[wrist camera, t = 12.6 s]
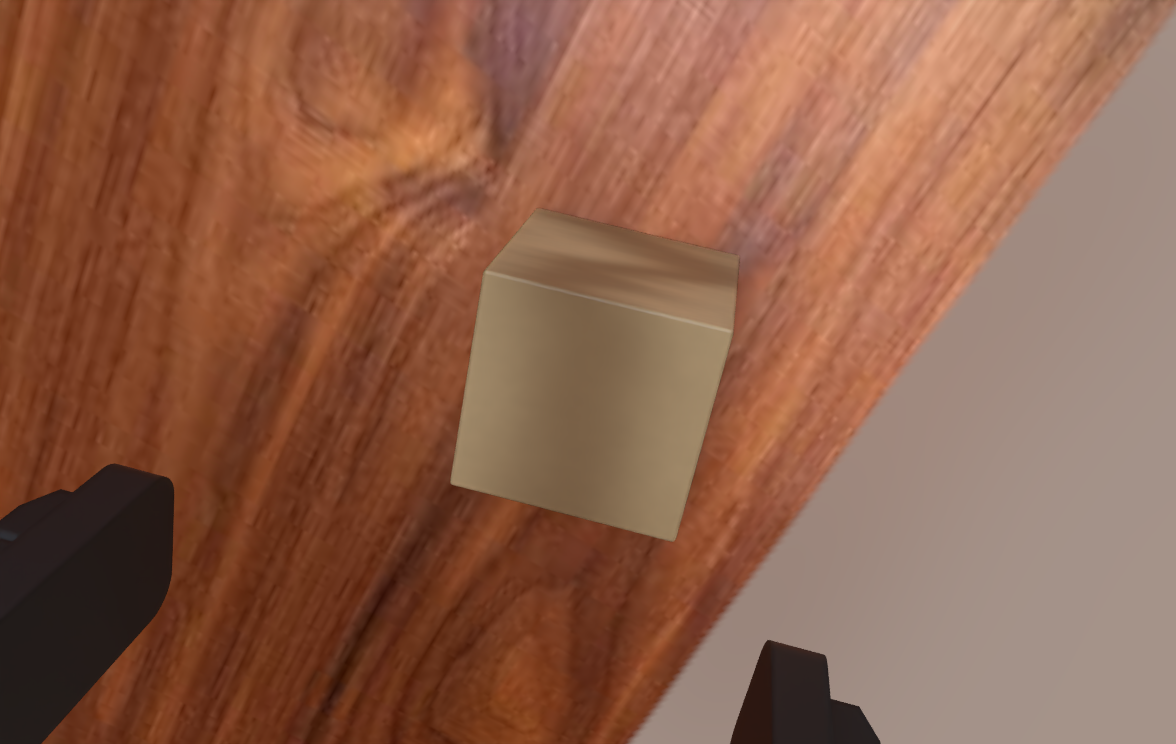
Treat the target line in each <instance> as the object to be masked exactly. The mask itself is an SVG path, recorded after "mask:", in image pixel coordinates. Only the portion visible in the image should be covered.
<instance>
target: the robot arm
mask: <svg viewBox="0 0 1176 744" xmlns="http://www.w3.org/2000/svg"><path fill="white" fill-rule="evenodd" d="M173 518H174V487H173V484H172V481H171V480H170V479H169V478H167V477H164V476H160V475H156V474H152V473H149V472H145V471H141V470H137V469H134V468H130V467H126V466H122V465H119V464H110V465H107V466H106V467H104V468H103V469H101V470H100V471H99V472H98V473H96V474H95V475H94V476H93V477H91V478H90V479H89V480H88V481H86V482H85V483H84V484H83V485H81V486H80V487H79V488H78V489H77V490H75V491H74V492H69V491H65V490H62V489H60V490H58V491H55V492H53V493H50V494H48V495H45V496H42V497H40V498H37V499H35V500H32V501H30V502H27V503H25V504H22V505H20V506H18V507H17V508H16V509H14V510H13V511H12V512H10V513H9V514H8V515H6V516H5V517H4V518H2V519H1V520H0V744H41V743H42V742H43V741H44V740H45V739H46V738H47V737H48V735H49V734H50V733H51V732H52V731H53V730H54V729H55V728H56V726H57V725H58V724H59V723H60V722H61V721H62V720H63V719H64V718H65V716H66V715H67V714H68V713H69V712H70V711H71V710H72V709H73V707H74V706H75V705H76V704H77V703H78V702H79V701H80V700H81V699H82V697H83V696H84V695H85V694H86V693H87V692H88V691H89V690H90V688H91V687H92V686H93V685H94V684H95V683H96V682H97V681H98V679H99V678H100V677H101V676H102V675H103V674H104V673H105V672H106V671H107V669H108V668H109V667H110V666H111V665H112V664H113V663H114V662H115V660H116V659H117V658H118V657H119V656H120V655H121V654H122V653H123V652H124V650H125V649H126V648H127V647H128V646H129V645H130V644H131V643H132V641H133V640H134V639H135V638H136V637H137V636H138V635H139V634H140V633H141V631H142V630H143V629H144V628H145V627H146V626H147V625H148V624H149V622H150V621H151V620H152V619H153V618H154V616H155V615H156V614H157V612H158V610H159V609H160V607H161V605H162V603H163V601H164V599H165V596H166V594H167V591H168V588H169V585H170V581H171V575H172V552H173ZM730 744H880V740H879V739H878V737H877V736H876V734H875V732H874V731H873V729H872V727H871V725H870V724H869V722H868V721H867V719H866V717H865V715H864V714H863V712H862V711H861V709H860V707H859V706H855V705H851V704H848V703H844V702H840V701H837V700H833V699H831V698H830V688H829V676H828V665H827V659H826V656H825V655H823V654H819V653H816V652H812V651H808V650H804V649H801V648H797V647H793V646H789V645H786V644H782V643H778V642H774V641H771V640H767V642H766V643H765V645H764V646H763V649H762V651H761V654H760V657H759V660H758V662H757V665H756V668H755V671H754V674H753V677H752V679H751V682H750V685H749V688H748V691H747V694H746V696H745V699H744V702H743V705H742V708H741V711H740V714H739V716H738V719H737V722H736V725H735V728H734V731H733V735H732V739H731V743H730Z"/></svg>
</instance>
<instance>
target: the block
mask: <svg viewBox="0 0 1176 744" xmlns="http://www.w3.org/2000/svg"><path fill="white" fill-rule="evenodd" d="M739 263H740V257H739V256H738V255H734V254H730V253H725V252H721V251H717V250H713V249H709V248H704V247H700V246H696V245H692V244H688V243H684V242H679V241H675V240H671V239H667V238H663V237H658V236H654V235H650V234H646V233H642V232H637V231H633V230H629V229H625V228H621V227H616V226H612V225H608V224H604V223H600V222H595V221H591V220H587V219H583V218H579V217H575V216H570V215H566V214H562V213H558V212H554V211H549V210H545V209H541V208H537V209H536V210H535V211H534V212H533V213H532V215H531V216H530V217H529V218H528V219H527V220H526V222H525V223H524V224H523V225H522V226H521V228H520V229H519V230H518V231H517V232H516V234H515V235H514V236H513V237H512V238H511V239H510V241H509V242H508V243H507V244H506V245H505V247H504V248H503V249H502V250H501V251H500V253H499V254H498V255H497V256H496V257H495V259H494V260H493V261H492V262H491V263H490V264H489V266H488V267H487V268H486V269H485V271H484V272H483V278H482V284H481V290H480V297H479V303H478V309H477V315H476V322H475V328H474V334H473V341H472V347H471V353H470V360H469V366H468V372H467V379H466V385H465V391H464V397H463V404H462V410H461V416H460V423H459V429H458V435H457V442H456V448H455V454H454V461H453V467H452V473H451V479H450V481H451V484H452V485H455V486H459V487H463V488H467V489H471V490H475V491H478V492H482V493H486V494H490V495H494V496H498V497H502V498H505V499H509V500H513V501H517V502H521V503H525V504H529V505H532V506H536V507H540V508H544V509H548V510H552V511H555V512H559V513H563V514H567V515H571V516H575V517H579V518H582V519H586V520H590V521H594V522H598V523H602V524H606V525H609V526H613V527H617V528H621V529H625V530H629V531H633V532H636V533H640V534H644V535H648V536H652V537H656V538H660V539H663V540H667V541H671V542H673V541H675V539H676V537H677V534H678V530H679V526H680V523H681V519H682V516H683V512H684V509H685V505H686V501H687V498H688V494H689V491H690V487H691V484H692V480H693V476H694V473H695V469H696V466H697V462H698V459H699V455H700V451H701V448H702V444H703V441H704V437H705V433H706V430H707V426H708V423H709V419H710V416H711V412H712V408H713V405H714V401H715V398H716V394H717V391H718V387H719V383H720V380H721V376H722V373H723V369H724V366H725V362H726V358H727V355H728V351H729V348H730V344H731V341H732V337H733V333H734V322H735V310H736V298H737V287H738V275H739Z"/></svg>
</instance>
